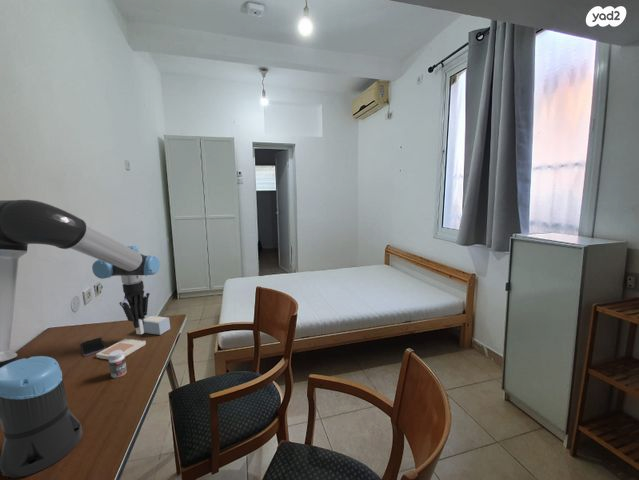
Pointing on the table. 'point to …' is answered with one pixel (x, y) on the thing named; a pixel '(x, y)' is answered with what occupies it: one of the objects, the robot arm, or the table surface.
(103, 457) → the table surface
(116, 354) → the pill bottle
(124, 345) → the board
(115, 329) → the table surface
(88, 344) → the smartphone
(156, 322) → the blue framed panel box
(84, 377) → the table surface
